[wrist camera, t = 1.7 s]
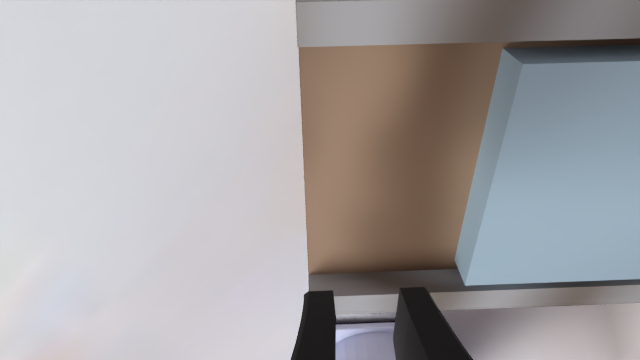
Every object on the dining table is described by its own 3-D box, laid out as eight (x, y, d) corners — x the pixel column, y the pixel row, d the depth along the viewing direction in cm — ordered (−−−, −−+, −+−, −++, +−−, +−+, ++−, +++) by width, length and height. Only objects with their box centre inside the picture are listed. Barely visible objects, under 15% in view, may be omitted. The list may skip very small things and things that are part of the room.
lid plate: (454, 259, 19) (464, 285, 18) (502, 48, 14) (523, 64, 12) (675, 251, 19) (701, 276, 18) (808, 40, 14) (858, 55, 13)
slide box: (308, 234, 23) (309, 315, 19) (297, -30, 16) (295, 2, 11) (705, 220, 24) (798, 296, 19) (876, -43, 16) (1089, -17, 12)
